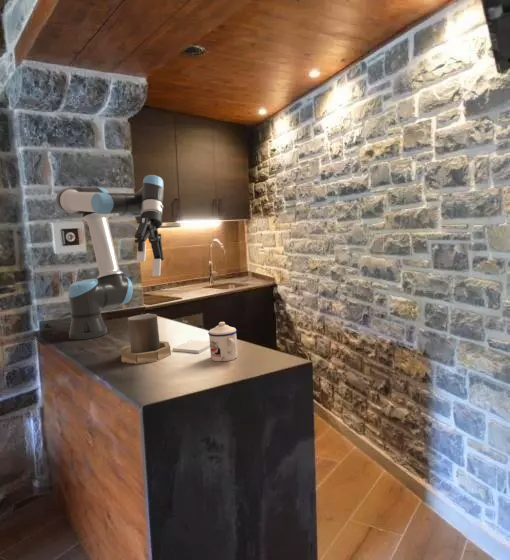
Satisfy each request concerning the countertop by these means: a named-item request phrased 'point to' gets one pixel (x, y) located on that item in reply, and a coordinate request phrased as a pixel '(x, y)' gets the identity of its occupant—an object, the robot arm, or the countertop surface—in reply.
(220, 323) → the teacup with lid
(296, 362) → the countertop surface
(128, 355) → the holder ring
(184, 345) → the coaster
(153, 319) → the pillar candle
